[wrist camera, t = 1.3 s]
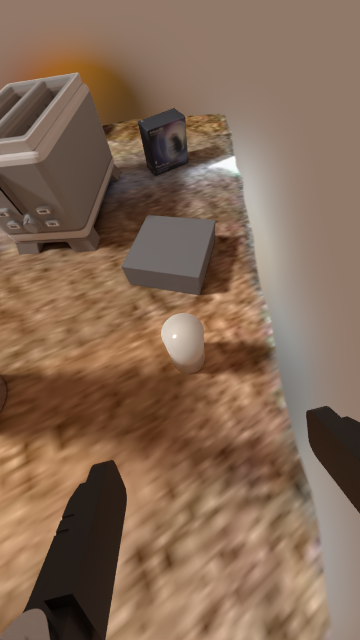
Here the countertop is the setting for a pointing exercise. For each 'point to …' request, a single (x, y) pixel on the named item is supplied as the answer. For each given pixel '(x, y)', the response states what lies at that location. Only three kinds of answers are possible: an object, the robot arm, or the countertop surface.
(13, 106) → the toaster
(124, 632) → the countertop surface
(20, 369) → the countertop surface
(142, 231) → the plinth
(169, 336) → the beige piece
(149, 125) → the small box
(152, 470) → the countertop surface
